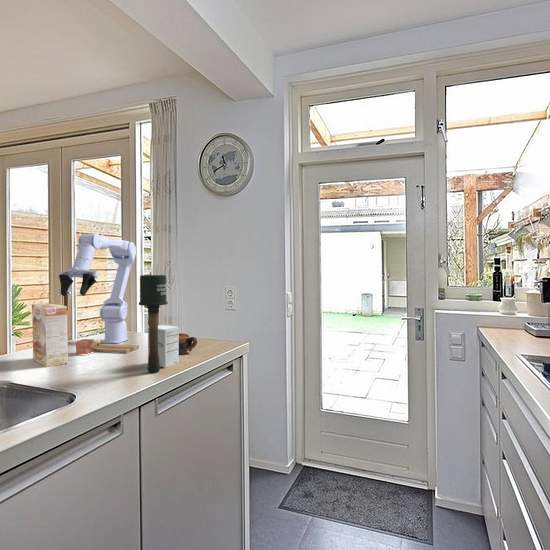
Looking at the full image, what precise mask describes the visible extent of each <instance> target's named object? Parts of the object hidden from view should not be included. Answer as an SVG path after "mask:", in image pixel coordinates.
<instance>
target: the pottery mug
mask: <svg viewBox="0 0 550 550" xmlns="http://www.w3.org/2000/svg"><path fill="white" fill-rule="evenodd" d="M197 345H198V339H197V337H195V336H191V337H190V335H189V334H188V333H182V332H181V333H179V355H187V354H188V352H191V351H192V350H193V349H195V347H196V346H197Z"/></svg>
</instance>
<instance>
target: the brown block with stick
mask: <svg viewBox="0 0 550 550" xmlns="http://www.w3.org/2000/svg"><path fill="white" fill-rule="evenodd" d="M100 342H101V339H94V338H83V339H80V340H77V341H75V355H76V354H88V353H91V352H94V345H95V344H97V346H99V344H101V343H100ZM94 353H95V352H94ZM91 354H92V353H91ZM88 355H89V354H88Z"/></svg>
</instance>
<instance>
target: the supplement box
mask: <svg viewBox="0 0 550 550" xmlns="http://www.w3.org/2000/svg"><path fill="white" fill-rule="evenodd" d="M179 331H180V327H179V326H175V325H166V324H165V325H159V324H158V354H159V364H160V368H164V369H166V368H167V369H168V368H169V367H172V366H175V365H177V364H179V360H180V359H179V357H180V354H179V334H180V333H179ZM148 358H149V327H147V359H148Z"/></svg>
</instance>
